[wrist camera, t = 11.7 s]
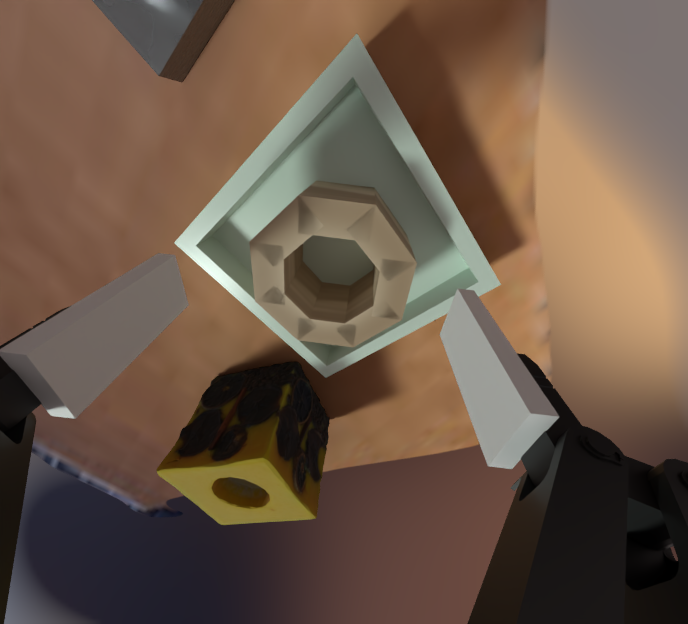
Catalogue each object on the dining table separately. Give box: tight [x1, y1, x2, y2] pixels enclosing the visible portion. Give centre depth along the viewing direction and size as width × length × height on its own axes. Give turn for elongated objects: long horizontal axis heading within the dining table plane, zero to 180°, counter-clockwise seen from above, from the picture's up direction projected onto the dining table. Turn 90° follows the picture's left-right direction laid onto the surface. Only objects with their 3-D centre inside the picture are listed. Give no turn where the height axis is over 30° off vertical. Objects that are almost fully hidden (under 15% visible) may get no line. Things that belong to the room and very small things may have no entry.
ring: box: [249, 181, 417, 347], centre depth 18 cm, size 11×9×5 cm
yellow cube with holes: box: [157, 362, 329, 525], centre depth 26 cm, size 10×10×10 cm
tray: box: [175, 34, 501, 378], centre depth 19 cm, size 15×15×3 cm
